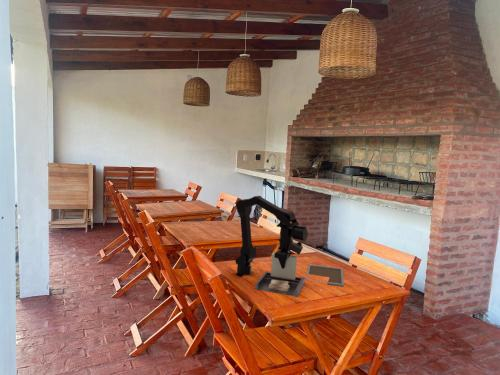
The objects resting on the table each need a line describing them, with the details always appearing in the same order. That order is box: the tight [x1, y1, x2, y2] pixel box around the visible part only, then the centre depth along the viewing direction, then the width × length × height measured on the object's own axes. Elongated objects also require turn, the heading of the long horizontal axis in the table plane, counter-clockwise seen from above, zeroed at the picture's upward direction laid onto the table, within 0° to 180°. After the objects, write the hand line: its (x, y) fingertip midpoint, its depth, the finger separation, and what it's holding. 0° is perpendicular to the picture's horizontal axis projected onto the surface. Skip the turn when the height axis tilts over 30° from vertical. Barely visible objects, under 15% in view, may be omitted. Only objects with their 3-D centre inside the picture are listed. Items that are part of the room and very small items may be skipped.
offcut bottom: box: [269, 283, 290, 292], centre depth 187 cm, size 9×5×2 cm, turn 73°
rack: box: [254, 270, 306, 298], centre depth 190 cm, size 20×19×4 cm
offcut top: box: [270, 280, 288, 288], centre depth 187 cm, size 8×4×2 cm, turn 79°
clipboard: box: [305, 264, 345, 288], centre depth 214 cm, size 19×2×30 cm
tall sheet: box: [270, 252, 298, 280], centre depth 193 cm, size 12×2×11 cm, turn 73°
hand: (283, 267), depth 193 cm, fingers closed on tall sheet, 2 cm apart
